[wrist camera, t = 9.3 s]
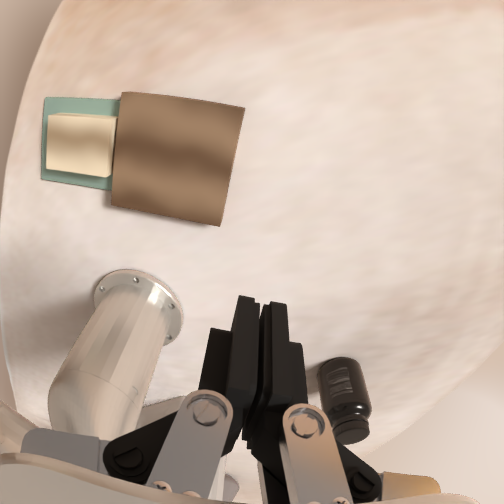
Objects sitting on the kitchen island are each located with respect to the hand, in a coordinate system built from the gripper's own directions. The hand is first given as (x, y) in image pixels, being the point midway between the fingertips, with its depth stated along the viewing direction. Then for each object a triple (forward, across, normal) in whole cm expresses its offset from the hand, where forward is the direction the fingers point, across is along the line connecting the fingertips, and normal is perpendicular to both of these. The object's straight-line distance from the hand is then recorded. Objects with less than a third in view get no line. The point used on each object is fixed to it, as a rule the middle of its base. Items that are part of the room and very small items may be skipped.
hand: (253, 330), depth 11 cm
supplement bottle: (+23, -18, +26) cm, 39 cm away
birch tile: (+23, +19, 0) cm, 30 cm away
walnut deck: (+23, +9, 0) cm, 25 cm away
